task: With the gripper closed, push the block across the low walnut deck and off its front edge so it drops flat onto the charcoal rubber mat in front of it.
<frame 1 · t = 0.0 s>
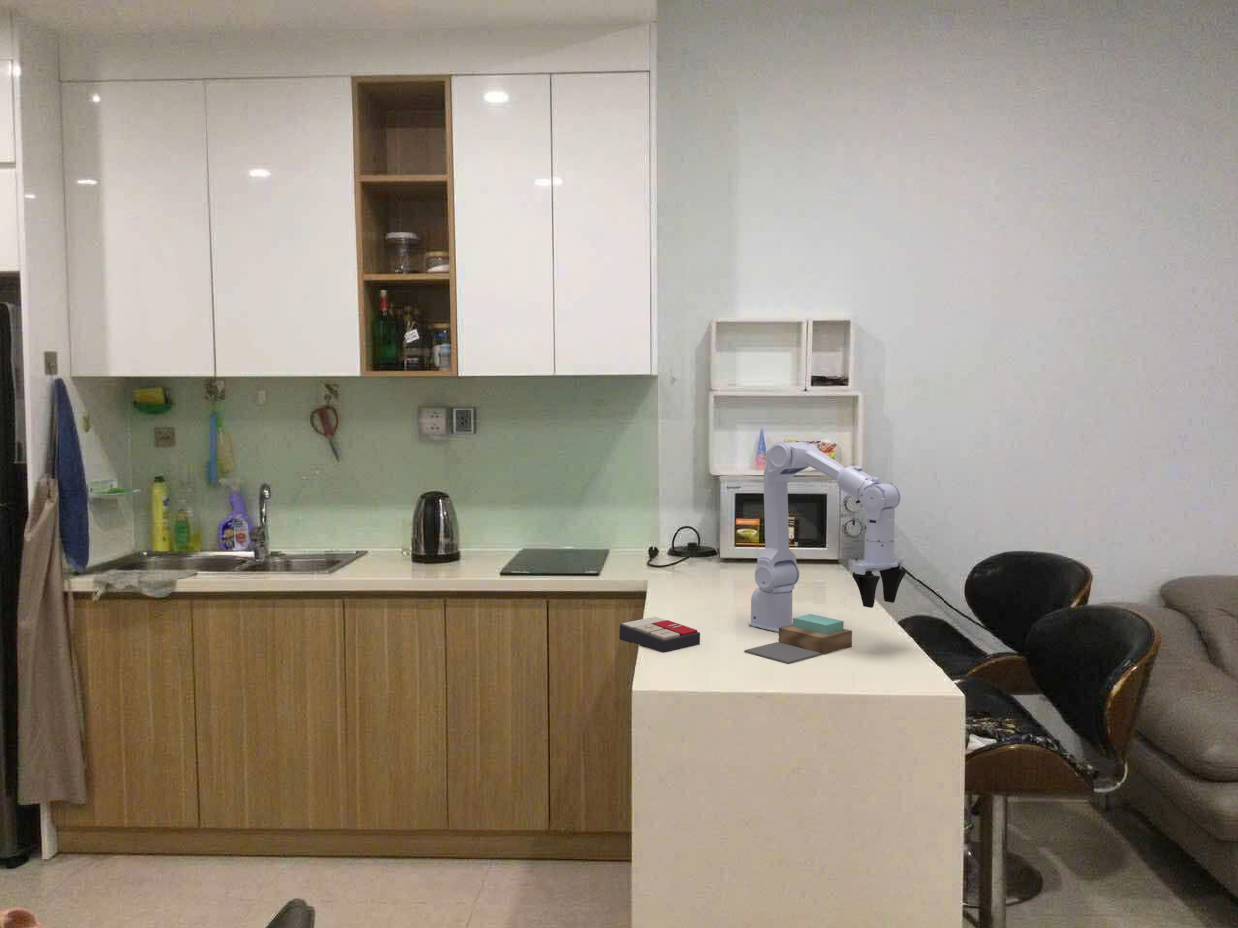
hand: (878, 604, 194), 10 cm above the countertop, fingers open, 7 cm apart
mat: (782, 653, 193), on the countertop
deck: (814, 644, 200), on the countertop
block: (818, 623, 200), point 4 cm above the countertop, touching deck
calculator: (659, 644, 203), on the countertop
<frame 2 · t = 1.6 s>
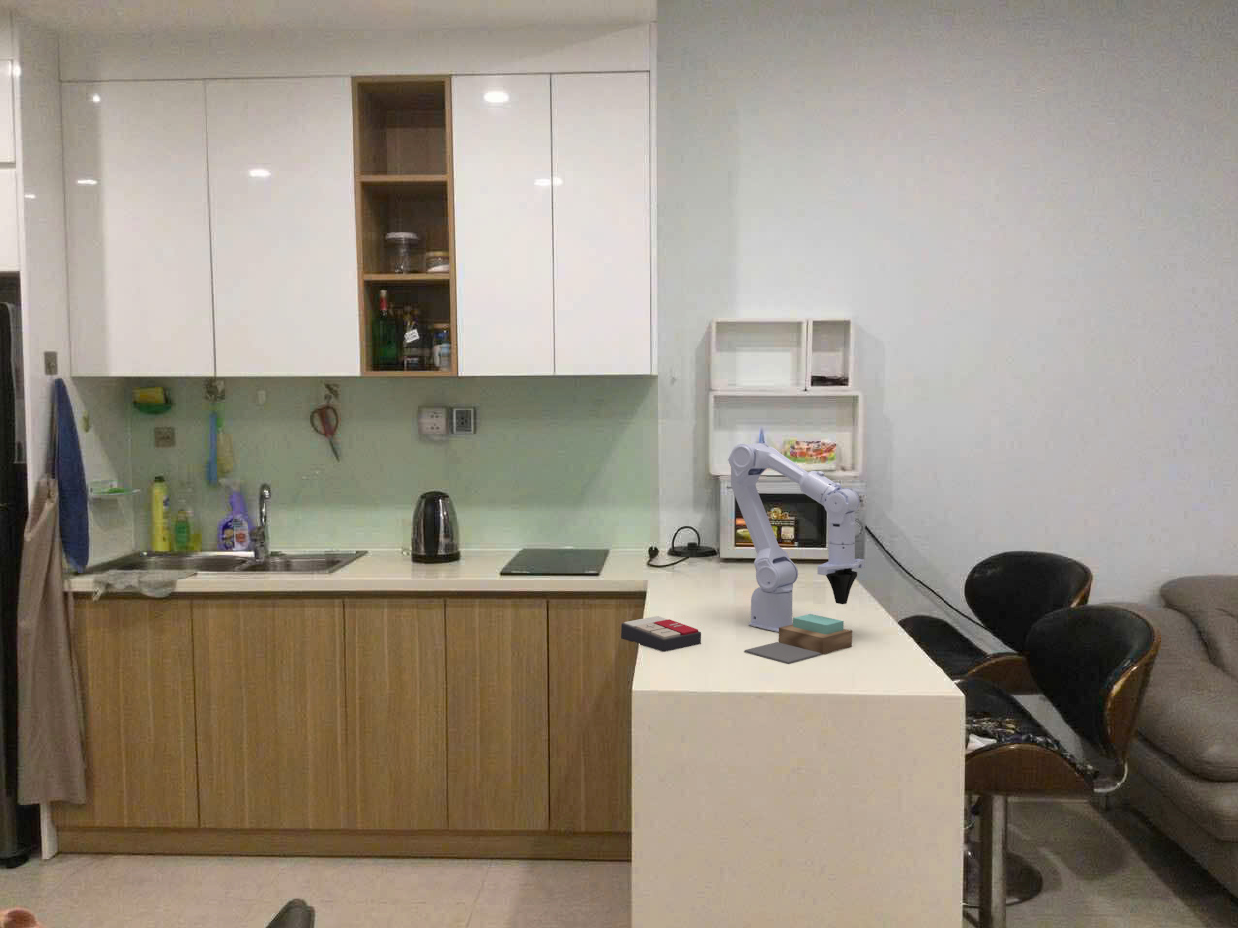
hand: (841, 603, 205), 8 cm above the countertop, fingers closed
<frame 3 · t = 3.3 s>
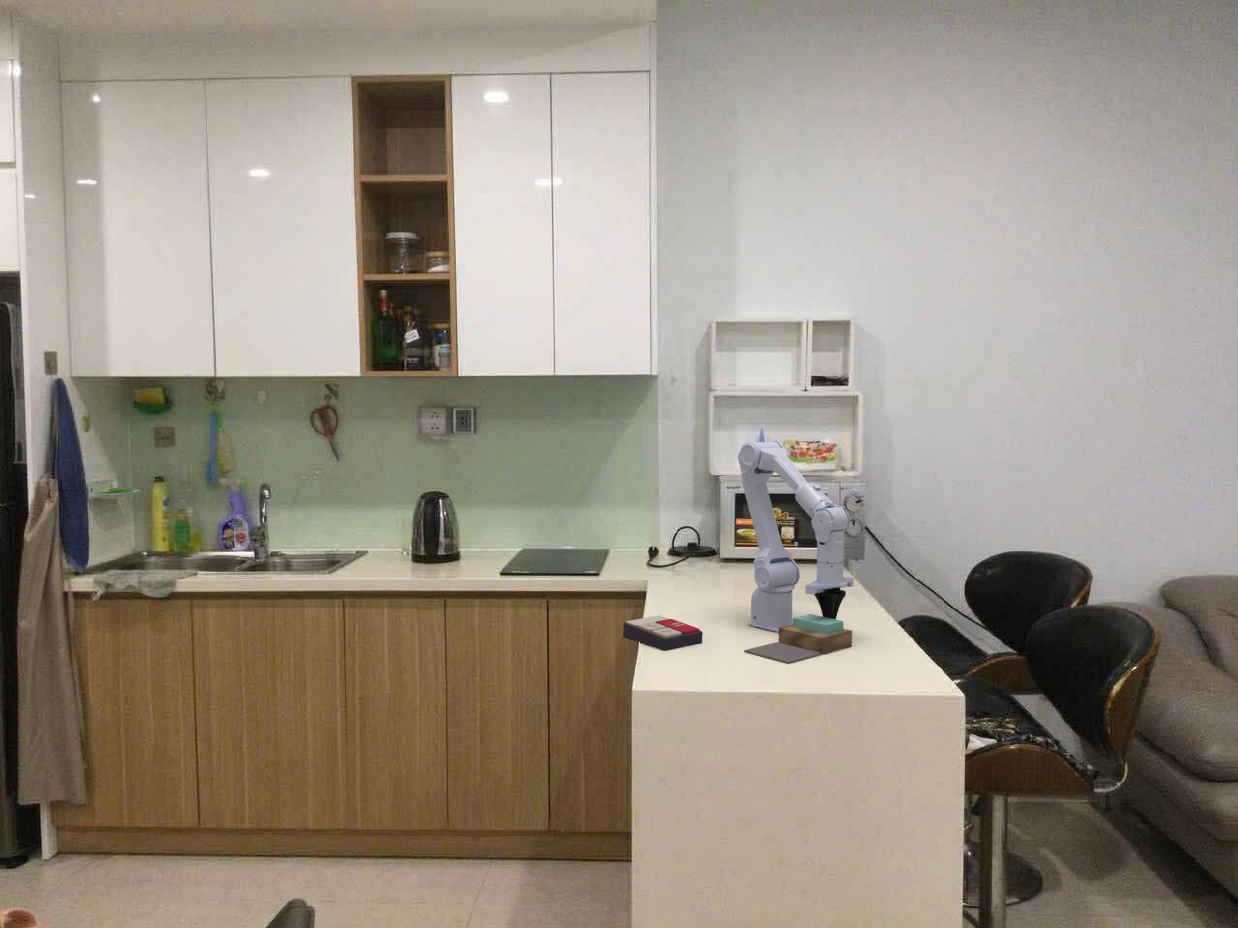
hand: (829, 622, 202), 4 cm above the countertop, fingers closed
block: (817, 623, 200), point 5 cm above the countertop, touching gripper
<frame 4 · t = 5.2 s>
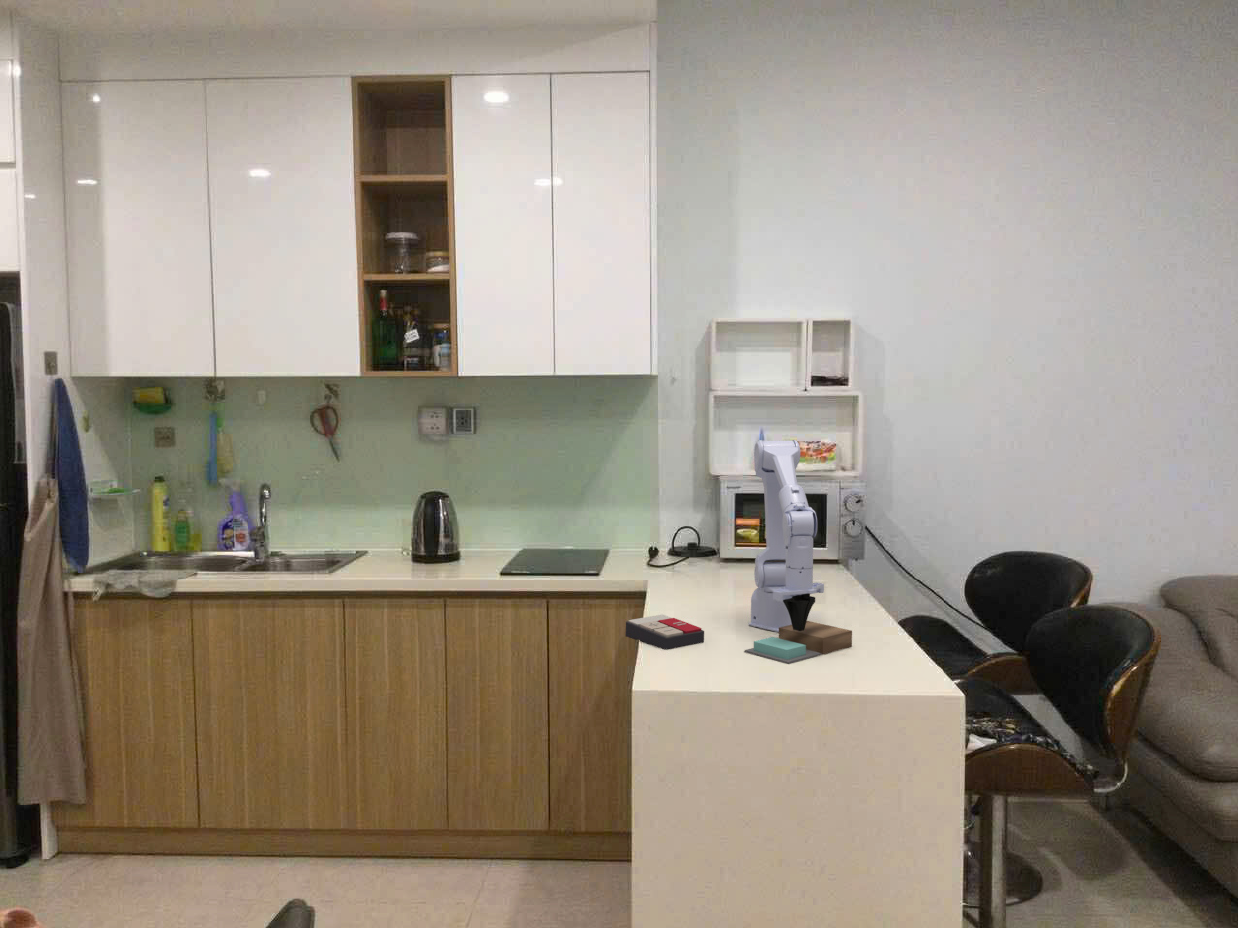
hand: (798, 629, 196), 4 cm above the countertop, fingers closed
block: (779, 647, 192), point 1 cm above the countertop, tilted 180°, touching mat
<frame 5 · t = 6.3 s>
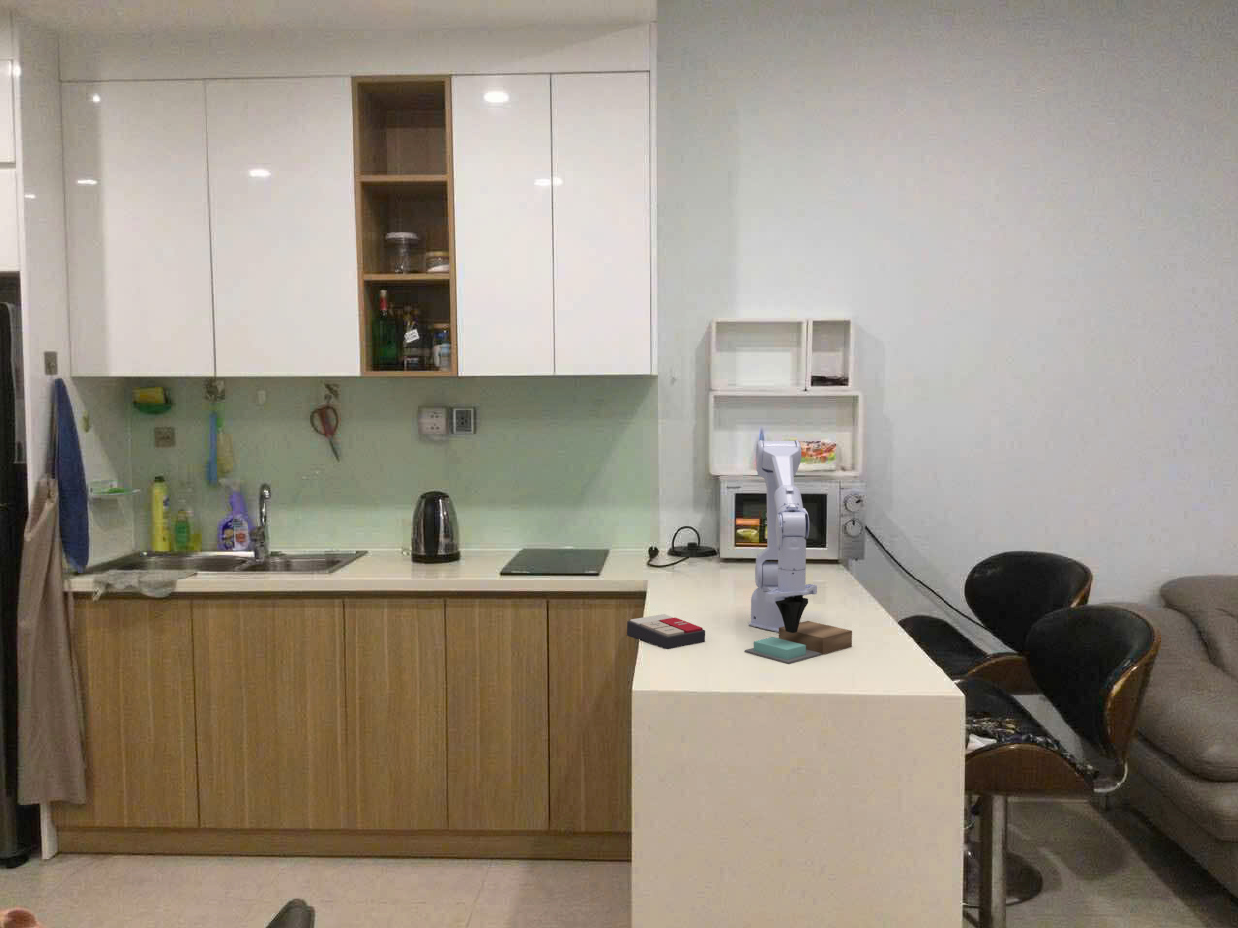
hand: (791, 631, 194), 4 cm above the countertop, fingers closed
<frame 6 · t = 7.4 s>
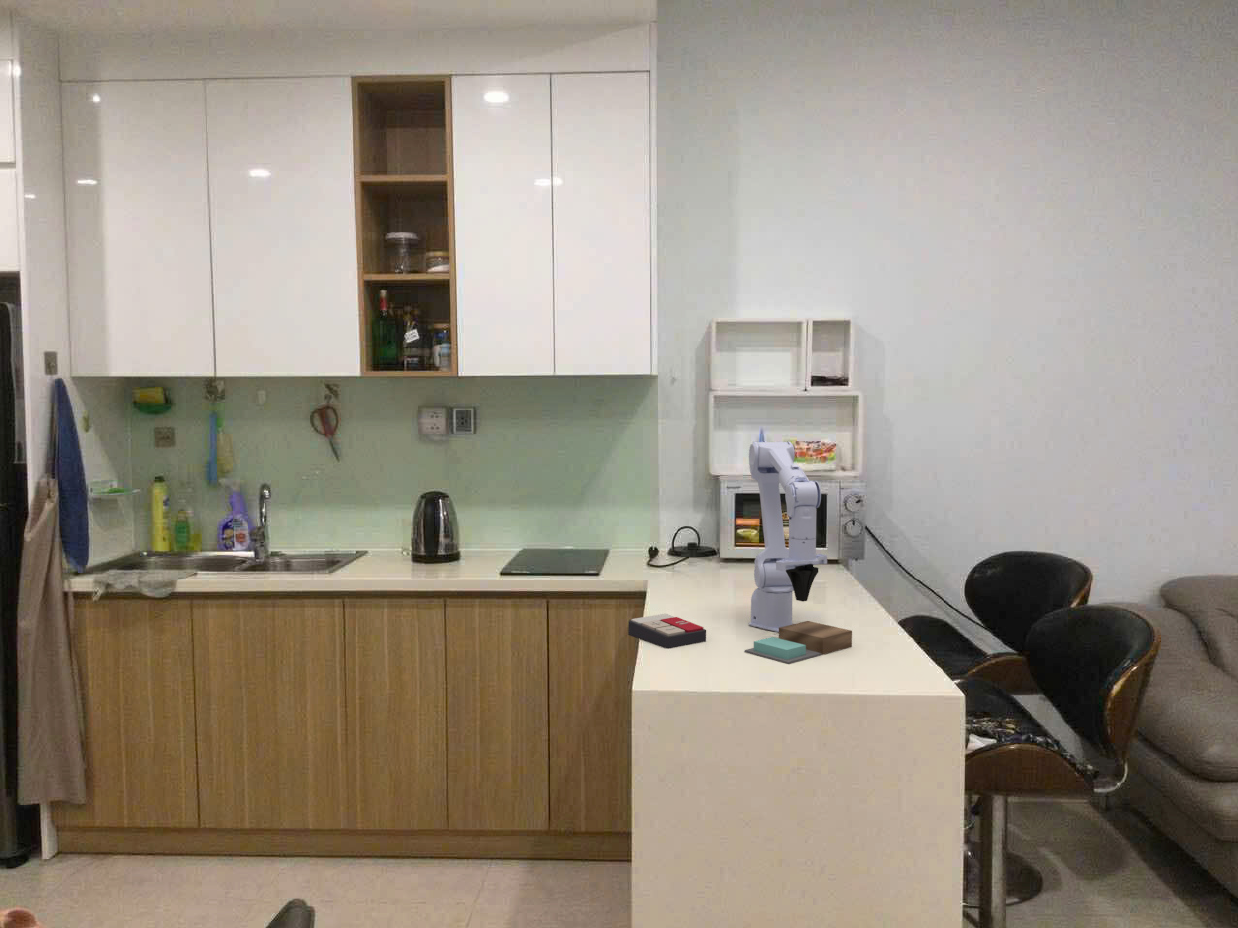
hand: (801, 600, 197), 10 cm above the countertop, fingers closed
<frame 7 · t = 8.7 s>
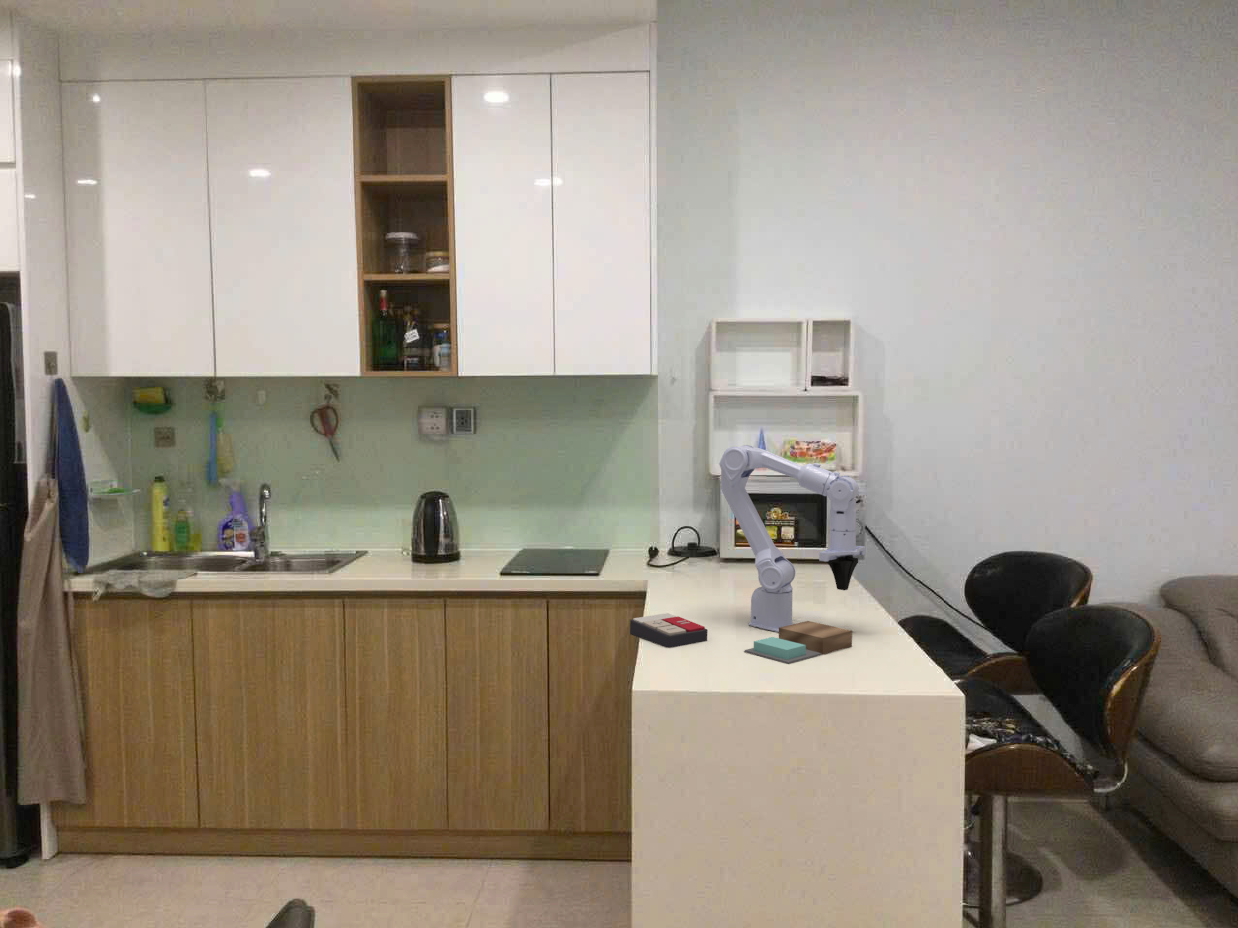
hand: (842, 589, 208), 10 cm above the countertop, fingers closed
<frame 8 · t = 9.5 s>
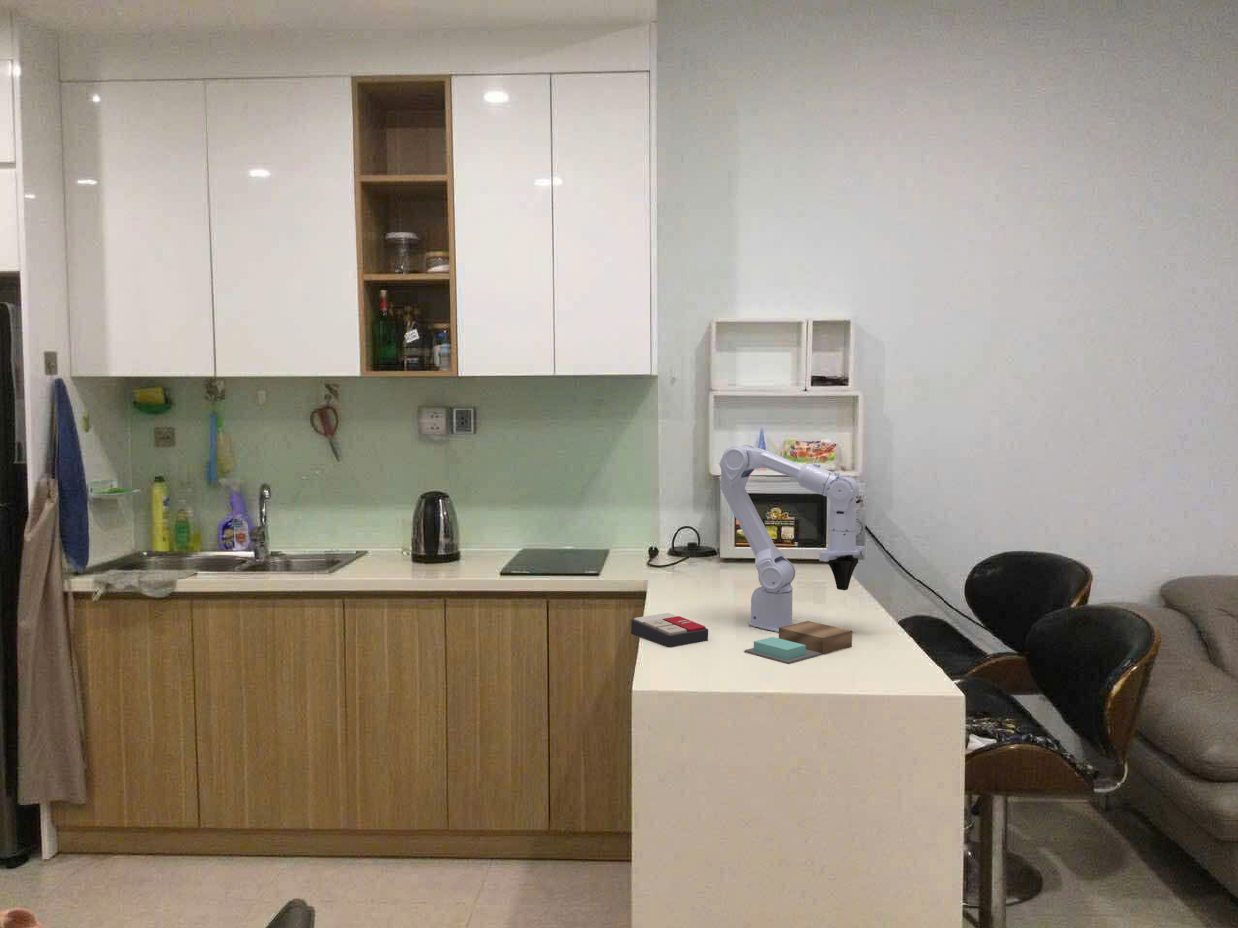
hand: (842, 589, 208), 10 cm above the countertop, fingers closed
at the end: block inside the target area (1.2 cm from its centre), point 1.4 cm above the countertop; block touching mat; block moved 13.3 cm from its start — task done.
